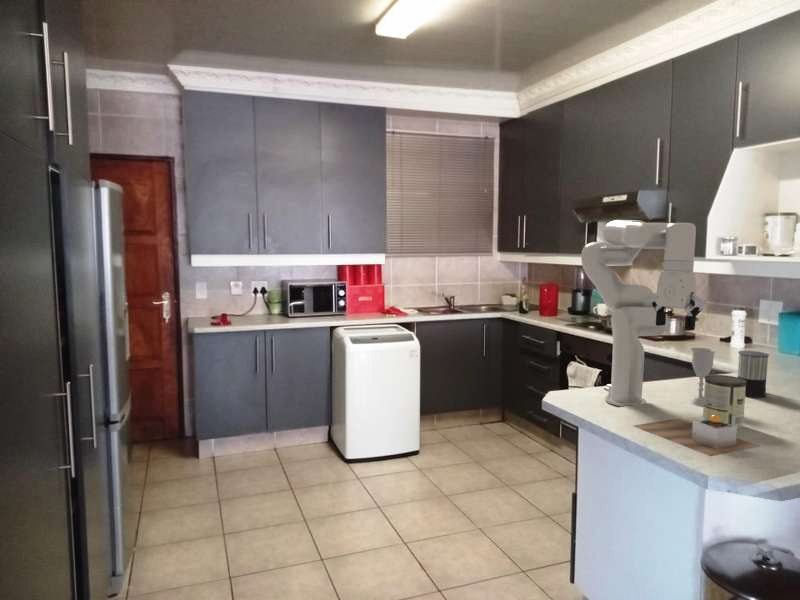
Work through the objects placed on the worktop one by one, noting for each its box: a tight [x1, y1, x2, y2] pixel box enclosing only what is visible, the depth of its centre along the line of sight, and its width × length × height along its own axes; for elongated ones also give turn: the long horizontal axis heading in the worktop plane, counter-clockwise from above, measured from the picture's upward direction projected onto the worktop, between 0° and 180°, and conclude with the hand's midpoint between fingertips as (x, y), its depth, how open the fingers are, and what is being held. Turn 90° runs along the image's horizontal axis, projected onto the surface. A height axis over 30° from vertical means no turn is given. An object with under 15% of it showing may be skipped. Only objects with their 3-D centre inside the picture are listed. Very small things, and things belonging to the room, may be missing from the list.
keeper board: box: [633, 418, 760, 457], centre depth 148 cm, size 24×18×2 cm
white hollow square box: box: [692, 418, 738, 449], centre depth 143 cm, size 7×7×5 cm
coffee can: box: [702, 374, 747, 429], centre depth 159 cm, size 10×10×14 cm
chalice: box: [690, 347, 716, 407], centre depth 182 cm, size 7×7×18 cm
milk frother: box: [737, 350, 770, 399], centre depth 198 cm, size 14×16×15 cm
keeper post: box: [709, 414, 722, 428], centre depth 142 cm, size 3×3×7 cm
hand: (674, 327), depth 158 cm, fingers open, 9 cm apart
